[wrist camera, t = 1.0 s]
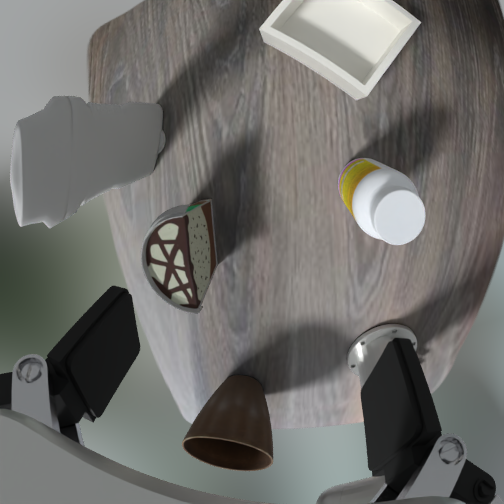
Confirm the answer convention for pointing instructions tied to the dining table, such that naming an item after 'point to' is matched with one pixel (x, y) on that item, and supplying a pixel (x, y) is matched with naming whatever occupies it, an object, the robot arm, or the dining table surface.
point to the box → (341, 38)
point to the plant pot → (233, 427)
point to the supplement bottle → (382, 201)
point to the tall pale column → (80, 155)
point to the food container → (181, 255)
